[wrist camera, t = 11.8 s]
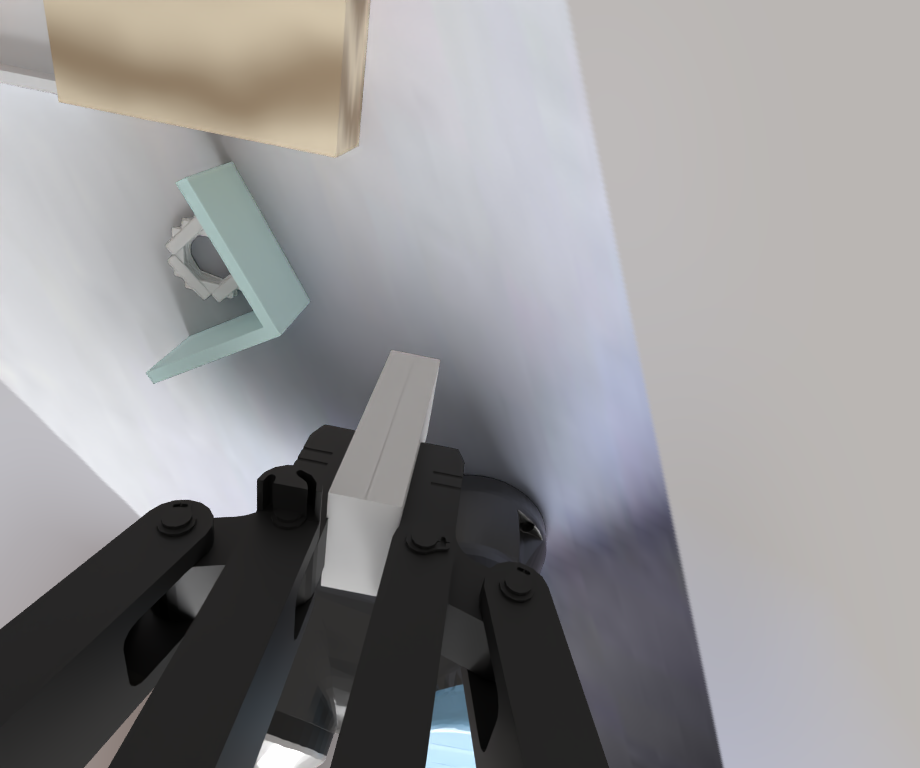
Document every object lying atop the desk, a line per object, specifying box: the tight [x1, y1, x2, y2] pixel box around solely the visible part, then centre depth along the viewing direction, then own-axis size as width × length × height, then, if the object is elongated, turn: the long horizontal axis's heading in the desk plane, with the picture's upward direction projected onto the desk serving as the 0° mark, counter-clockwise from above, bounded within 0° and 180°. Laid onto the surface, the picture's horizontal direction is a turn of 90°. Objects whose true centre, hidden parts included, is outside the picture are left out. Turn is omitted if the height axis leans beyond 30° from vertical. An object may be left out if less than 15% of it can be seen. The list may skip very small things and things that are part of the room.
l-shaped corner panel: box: [146, 162, 310, 384], centre depth 45 cm, size 12×12×8 cm
